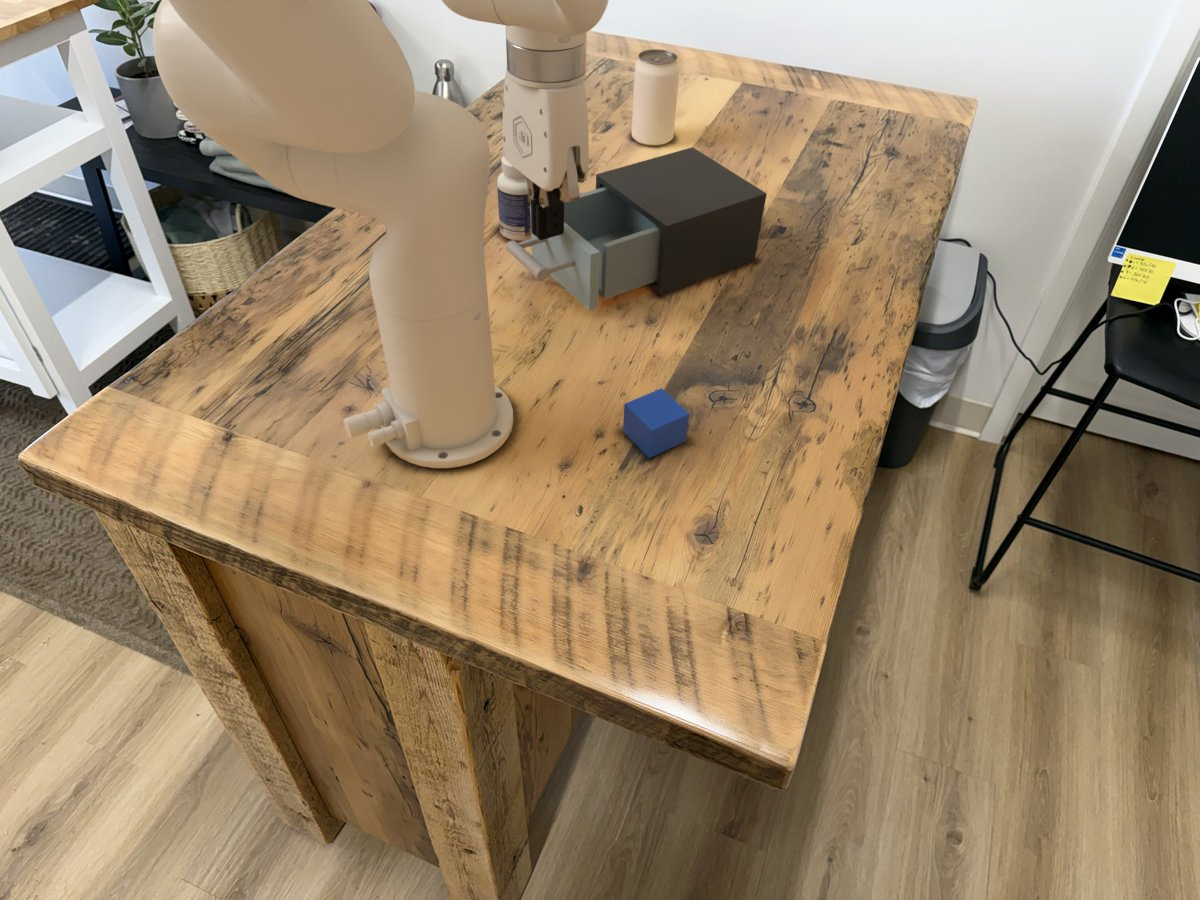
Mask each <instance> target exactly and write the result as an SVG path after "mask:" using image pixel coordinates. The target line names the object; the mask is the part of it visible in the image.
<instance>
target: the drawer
mask: <svg viewBox="0 0 1200 900" xmlns="http://www.w3.org/2000/svg"><path fill="white" fill-rule="evenodd" d="M579 195H580V198H579V200H576V201H573V202H569V203H567V202H565V203H564V232H563V234H561V235H558V236H554V237H551V238H548V239H544V240H539V239H538V238H537V236H535V235H534V234H532V232H531V239H528V240H525V241H519V242H518V241H516V240H511V239H510V240H509V241H508V242H507V243H506V246H505V249H506V251H507V252H508V253H510V255H511V256H513V258H515V260H517V261H518V262H519V263H520V264H521V265H522V266H523V267H524V268H525V269H526V270H527V271H528V272H529V273H531V274H532V275H533V276H534V277H535V278H537V280H538V281H545V280H546V279H547V277H548V275H549V276H550V277H551V278H553V279H554V281H556V282H557V283H558V285H560V286H561V287H562V288H563V289H564V290H565V291H567V292H568V293H569V294H570V295H571V296H572V297H574V299H575V300H577V301H578V302H579V303H580V305H582V306H583V307H584V308H585V309H587V311H588V312H591V311H594V310H596V309H599V296H600V297H601V298H602V299H603V300H607V299H610V298H613V297H616V296H619V295H621V294H624V293H627V292H630V291H633V290H636V289H638V288H641V287H644V286H648V285H647V284H650V283H652V282H655V281H658V269H659V258H660V246H661V235H662V229H661V228H659V227H658V226H657V225H655V224H654V223H653V222H651V221H650V220H649V219H647V218H646V217H645V216H643V215H642V214H641V213H639V212H638V211H637V210H635V209H634V208H633V207H631V206H630V205H628V204H627V203H626V202H624V201H623V200H622V199H620V198H619V197H618V196H616V195H615V194H614V193H612V192H611V191H610V190H608V189H607V188H606V187H602V188H599V189H596V188H595V189H592V190H589V191H586V192H582V193H579ZM530 216H531V203H530ZM529 247H531V254H530V252H528V251H527V250H526V249H525V248H529Z"/></svg>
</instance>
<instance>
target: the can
mask: <svg viewBox="0 0 1200 900" xmlns="http://www.w3.org/2000/svg"><path fill="white" fill-rule="evenodd" d="M678 57H679V56H678V55H677V54H676V53H675V52H673V51H670V50H666V49H660V48H656V49H655V48H651V49H645V50H642V51H641V52H639V53H638V59H637V61H636V63H635V65H634V66H635V67H634V77H633V93H632V96H633V97H632V111H631V112H632V114H631V138H633V140H634V141H635V142H636V143H638V144H641V145H643V146H647V147H648V146H649V147H660V146H665V145H667V144H669V143H670V142H671V141H672V140H673V139H674V134H675V126H676V125H675V124H676V114H677V113H676V112H677V101H678V91H679V79H680V66H679V62H678Z"/></svg>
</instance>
